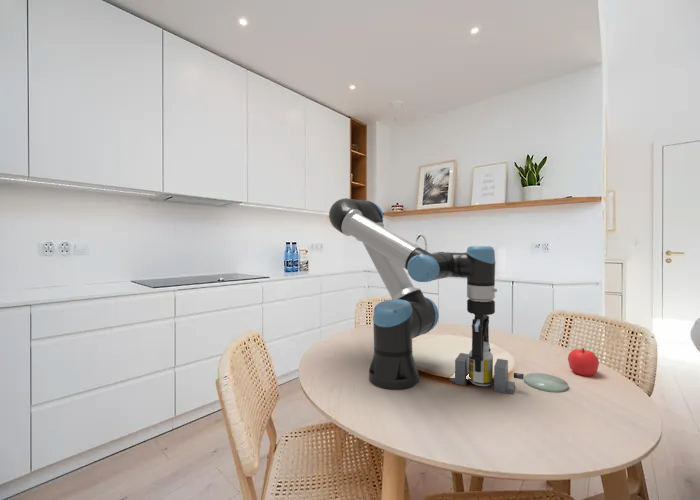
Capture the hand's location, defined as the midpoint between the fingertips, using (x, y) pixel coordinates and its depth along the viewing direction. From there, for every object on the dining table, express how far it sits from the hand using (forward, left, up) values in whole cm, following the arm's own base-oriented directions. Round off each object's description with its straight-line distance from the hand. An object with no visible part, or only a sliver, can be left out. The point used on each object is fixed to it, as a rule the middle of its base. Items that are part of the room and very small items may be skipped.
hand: (480, 377), depth 96 cm
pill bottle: (0, 0, -2) cm, 2 cm away
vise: (+1, 0, -2) cm, 2 cm away
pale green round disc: (+16, +9, -2) cm, 19 cm away
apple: (+26, +23, -2) cm, 35 cm away
